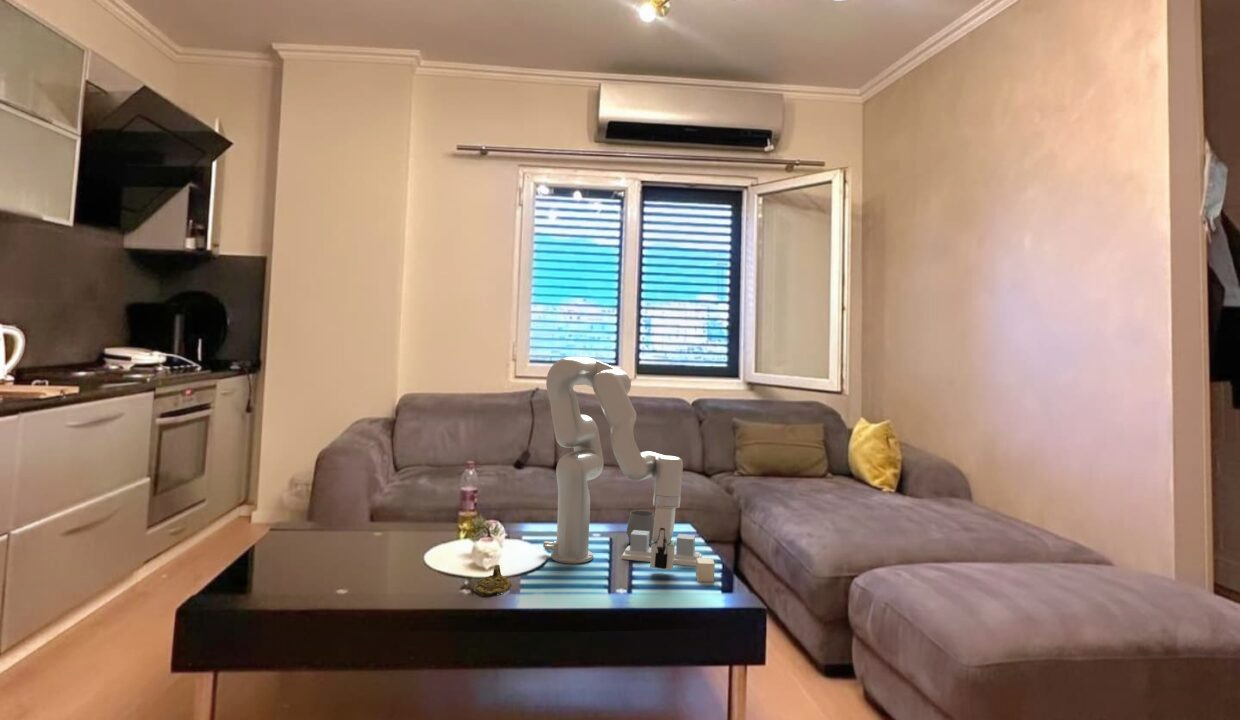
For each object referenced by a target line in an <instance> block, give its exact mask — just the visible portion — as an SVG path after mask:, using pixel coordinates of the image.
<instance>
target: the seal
mask: <svg viewBox="0 0 1240 720" xmlns="http://www.w3.org/2000/svg"><path fill="white" fill-rule="evenodd" d="M472 587H473V588H472V589H473V592H474V593H475V594H477V596H481V597H483V596H485V597H486V596H488V597H493V596H492V595H494V596H498V595H497V594H500V595H502V594H501V593H503V594H505V593H507V592H508V591H509V590H511V587H512V581H511V580H510V579H509V578H508V577H506V576H504V575H503V574H502V573H501V567H500V565H499V564H496V565H494V567H493V572H492V575H489V576H486V577H482V578H480V579H479V580H478V581H477V582H475V583H474V585H473V586H472Z"/></svg>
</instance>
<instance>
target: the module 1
mask: <svg viewBox="0 0 1240 720" xmlns="http://www.w3.org/2000/svg"><path fill="white" fill-rule="evenodd" d="M657 540H658V538H657ZM657 540H656V541H655V542H653V541H651V546H650V548H651V560H650V563H649V568H652V569H658V570H667V571H672V570H673V567H674V564H673V562H674V550H676V548H675V546H676V540H671V541H670V542H669V543H668V544H667V553H666V554H667V566H666V568H665V569H664V568H656V567H655V556H656V550H657ZM664 543H666V541H665V540H664ZM663 546H664V547H665V545H663ZM664 549H665V548H664Z"/></svg>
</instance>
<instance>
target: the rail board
mask: <svg viewBox="0 0 1240 720" xmlns="http://www.w3.org/2000/svg"><path fill="white" fill-rule="evenodd" d="M649 533H650V531H640V530H633V531H632V533H631V537H630V540H629V542H630V543H629V544H630V545H627V547H626V548H625V549H624V552H623V553H622V554H621V559H622V560H627V561H628V560H629V561H639V562H650V560H651V547H650V544H649ZM695 546H696V535H695V534H686V533H678V534H677V536H676V548H675V549H674V562H673V565H681V566H682V565H683V566H693V567H696V558H702V555H703V554H702V553H700V551H695V550H696V549H695V548H696V547H695Z"/></svg>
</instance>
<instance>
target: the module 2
mask: <svg viewBox="0 0 1240 720" xmlns="http://www.w3.org/2000/svg"><path fill="white" fill-rule="evenodd" d="M715 565H716V564H715V561H714V559H713V557H711V558H710V557H708V558H707V557H701V558H696V566H695V577H696V581H697V582H706V583H707V582H709V583H710V582H711V583H714V582H715Z"/></svg>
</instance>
